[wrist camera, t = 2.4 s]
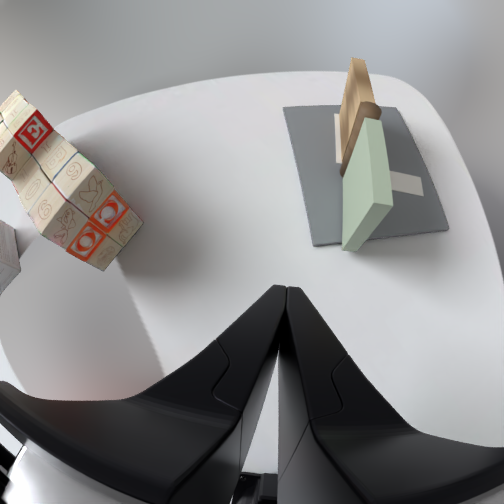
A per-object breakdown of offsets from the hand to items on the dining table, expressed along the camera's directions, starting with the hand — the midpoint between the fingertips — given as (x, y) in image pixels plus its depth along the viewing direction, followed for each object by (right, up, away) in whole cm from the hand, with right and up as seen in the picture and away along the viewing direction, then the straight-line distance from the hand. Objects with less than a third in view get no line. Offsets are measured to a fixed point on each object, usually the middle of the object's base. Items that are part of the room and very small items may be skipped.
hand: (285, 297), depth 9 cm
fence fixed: (+8, +12, +17) cm, 22 cm away
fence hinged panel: (+7, +5, +14) cm, 16 cm away
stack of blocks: (-21, +8, +18) cm, 29 cm away
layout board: (+10, +10, +17) cm, 22 cm away
